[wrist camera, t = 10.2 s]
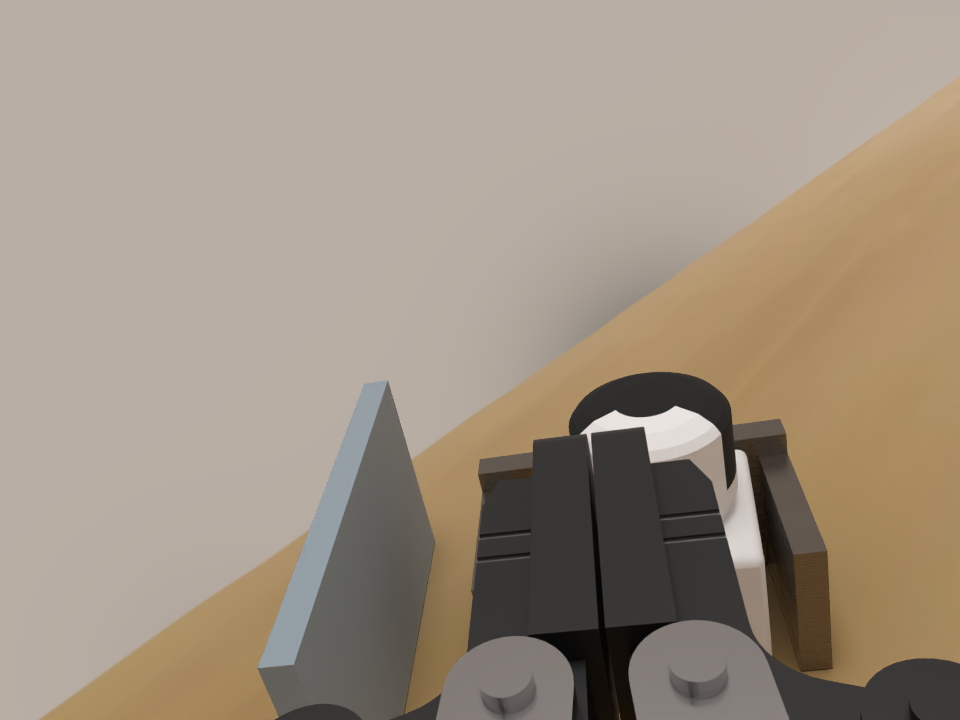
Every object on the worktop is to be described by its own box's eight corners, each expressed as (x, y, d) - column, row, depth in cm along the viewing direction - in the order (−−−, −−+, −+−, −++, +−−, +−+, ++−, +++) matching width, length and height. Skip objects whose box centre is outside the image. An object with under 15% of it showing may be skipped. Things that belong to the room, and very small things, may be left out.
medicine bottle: (601, 582, 43) (559, 362, 37) (757, 574, 41) (736, 343, 36) (594, 703, 37) (542, 462, 31) (776, 701, 35) (755, 445, 30)
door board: (345, 866, 33) (257, 668, 28) (413, 543, 48) (364, 384, 44) (377, 864, 32) (293, 664, 28) (434, 541, 48) (387, 380, 44)
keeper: (501, 698, 38) (465, 571, 35) (509, 575, 45) (480, 459, 41) (832, 668, 36) (826, 529, 33) (788, 543, 42) (779, 418, 39)
